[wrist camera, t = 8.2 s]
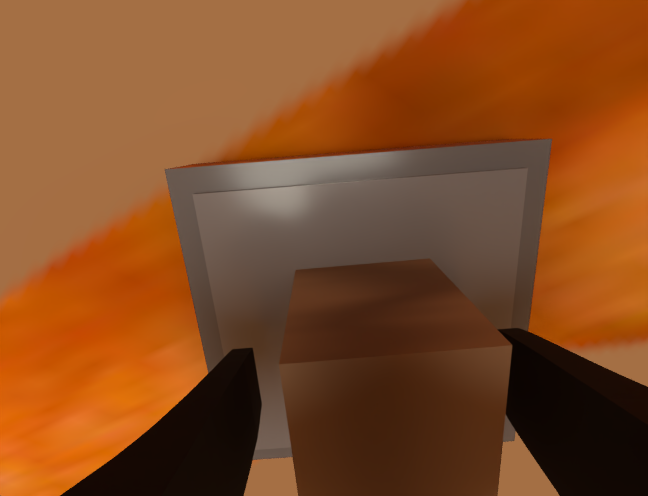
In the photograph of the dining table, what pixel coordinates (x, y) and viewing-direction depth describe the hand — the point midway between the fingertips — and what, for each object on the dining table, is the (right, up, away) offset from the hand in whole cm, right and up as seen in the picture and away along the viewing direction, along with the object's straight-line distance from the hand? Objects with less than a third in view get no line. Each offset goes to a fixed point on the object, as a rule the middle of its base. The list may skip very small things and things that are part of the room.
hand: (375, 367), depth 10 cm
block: (0, +1, +2) cm, 2 cm away
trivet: (0, +2, +5) cm, 5 cm away
